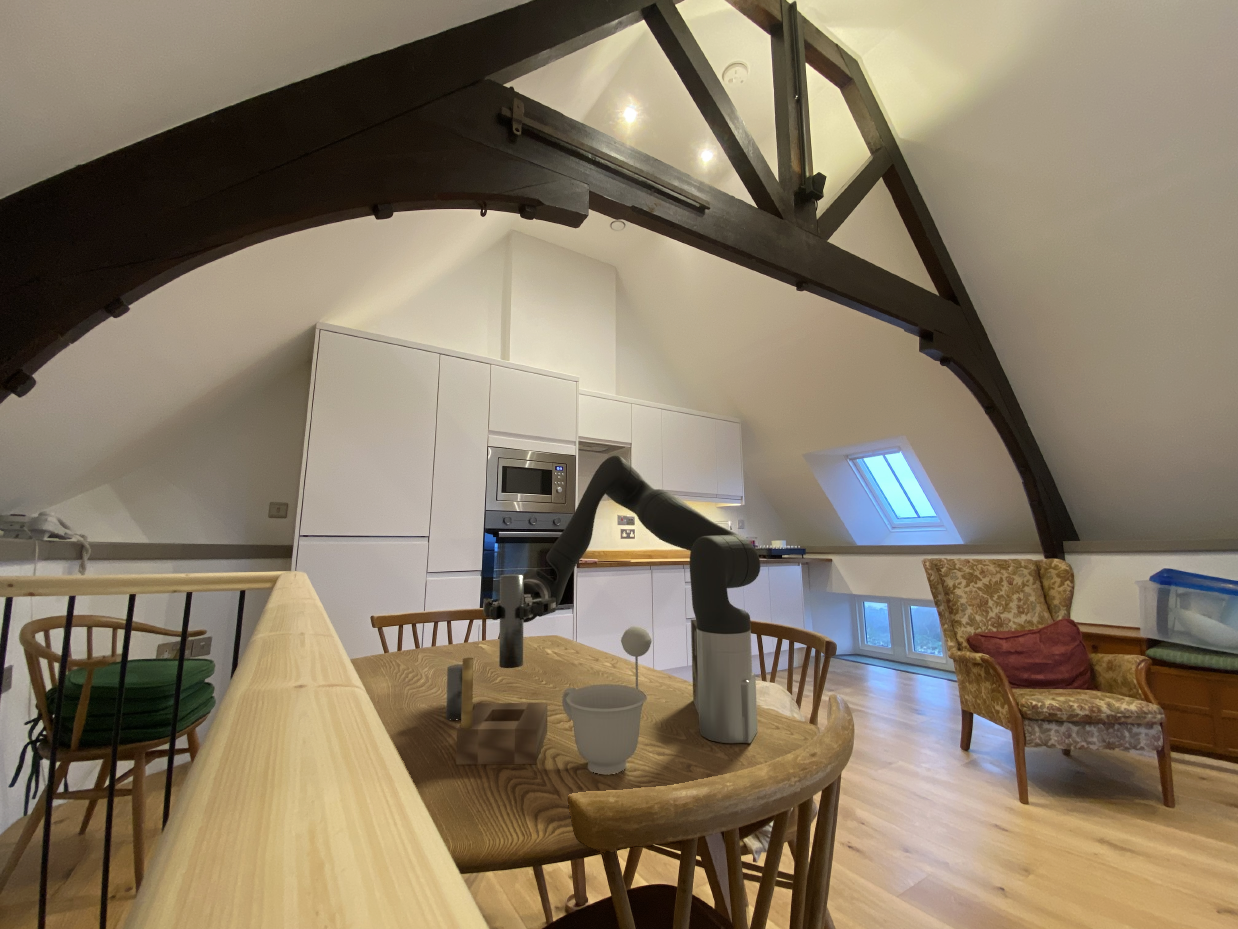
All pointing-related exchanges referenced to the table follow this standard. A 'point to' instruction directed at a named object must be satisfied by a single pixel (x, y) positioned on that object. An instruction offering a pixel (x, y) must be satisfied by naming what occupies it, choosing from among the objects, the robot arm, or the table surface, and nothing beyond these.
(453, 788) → the table surface
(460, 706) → the short pin
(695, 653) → the coffee box
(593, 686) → the teacup
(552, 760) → the table surface
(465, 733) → the hole block
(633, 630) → the lollipop
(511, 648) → the long pin
